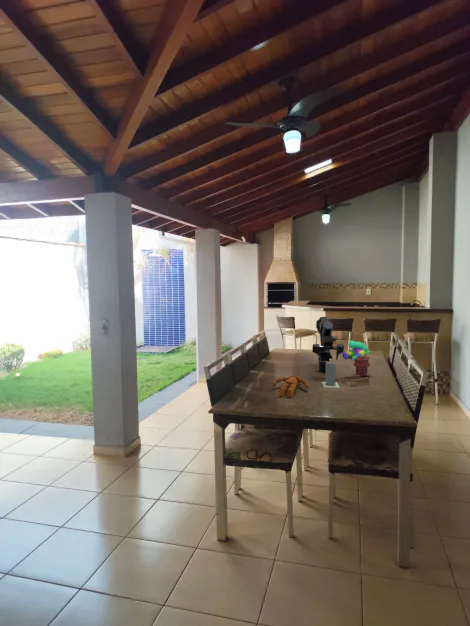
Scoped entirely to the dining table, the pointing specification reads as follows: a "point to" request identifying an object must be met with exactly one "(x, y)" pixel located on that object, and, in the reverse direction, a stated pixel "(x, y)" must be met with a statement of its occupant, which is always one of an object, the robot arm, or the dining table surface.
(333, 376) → the slate block
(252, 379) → the dining table surface
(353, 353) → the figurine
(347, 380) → the walnut rack
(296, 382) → the toy
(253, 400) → the dining table surface
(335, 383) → the sage mat
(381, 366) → the dining table surface
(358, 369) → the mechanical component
